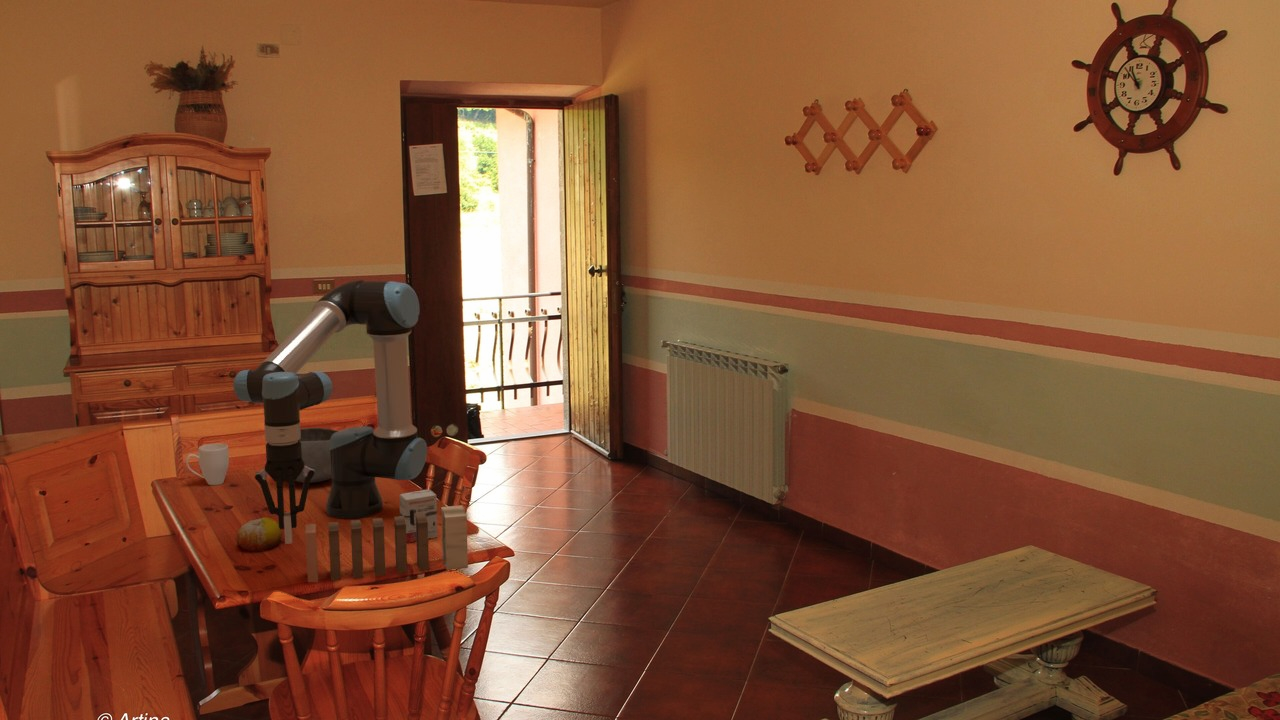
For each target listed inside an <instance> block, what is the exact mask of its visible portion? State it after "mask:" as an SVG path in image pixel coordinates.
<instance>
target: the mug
mask: <svg viewBox="0 0 1280 720" xmlns="http://www.w3.org/2000/svg"><path fill="white" fill-rule="evenodd" d="M197 453H198V455H197V454H195V453H190V454H188V455H187V456H186V459H185V465H186V468H187V469H188V470H189V471H190V472H192V473H193V474H194V475H196V476H198V477H200V478H202V479H205V480H206V483H207V484H208V486H218V485H222V484H224V481H225V478H226V476H227V472H228V469H229V466H230V465H229V463H230V458H229V457H230V455H229V453H230V452H229V446H228V444H226V443H221V442H219V443H217V442H215V443H208V444H203V445H200V446H198V452H197ZM191 457H194V458H196V459H197V460H198V464H199V468H200V471H201V473H202V474H199V473H198V472H196V471H195V470H193V468H191V467H190V465H189V459H190V458H191Z"/></svg>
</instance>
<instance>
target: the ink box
mask: <svg viewBox="0 0 1280 720" xmlns="http://www.w3.org/2000/svg"><path fill="white" fill-rule="evenodd" d="M437 500H438V499H437V494H436V493H435V492H434V491H433V490H431V489H428V488H427V489H423V490H418V491H410V492H405V493H400V494H399V516H404V519H405V523H406V542H410V543H413V542H412V541H415V542H417V541H416V515H420V514H425V515H426V518H427V522H428V540H429V538H431V539H435V537H436V538H438V504H437V503H438V501H437Z"/></svg>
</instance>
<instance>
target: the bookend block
mask: <svg viewBox="0 0 1280 720" xmlns="http://www.w3.org/2000/svg"><path fill="white" fill-rule="evenodd" d="M440 510H441V515H440V516H441V545H442V546H441V549H442V550H441V551H442V561H443V564H444V566H445V570H446V571H451V570H459V569H461V570H463V569H468V568H469V566H468V565H469V563H468V562H469V561H468V517H467V516H468V515H467V514H466V513H467V512H466V511H465V508H464V506H463V505H462V504H461V505H450V506H441V509H440Z"/></svg>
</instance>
